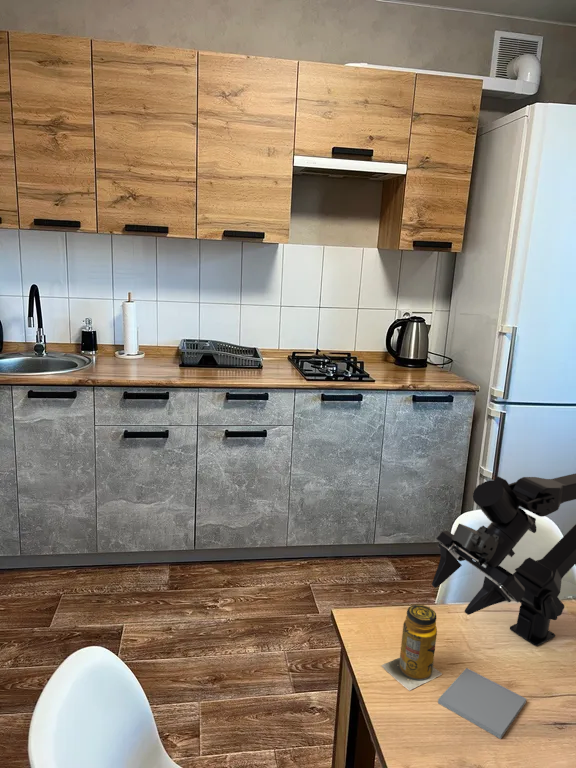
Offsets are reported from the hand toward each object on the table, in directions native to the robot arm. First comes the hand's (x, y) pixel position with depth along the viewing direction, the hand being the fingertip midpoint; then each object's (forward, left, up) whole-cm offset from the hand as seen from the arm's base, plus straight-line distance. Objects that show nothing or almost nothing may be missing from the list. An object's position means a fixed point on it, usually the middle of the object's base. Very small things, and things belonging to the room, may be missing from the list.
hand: (449, 599), depth 109 cm
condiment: (+7, -1, -13) cm, 15 cm away
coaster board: (+2, +11, -13) cm, 17 cm away
